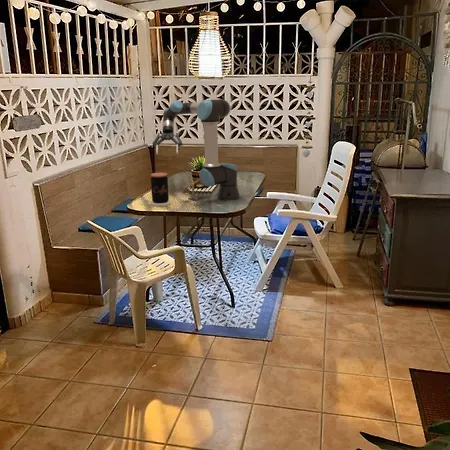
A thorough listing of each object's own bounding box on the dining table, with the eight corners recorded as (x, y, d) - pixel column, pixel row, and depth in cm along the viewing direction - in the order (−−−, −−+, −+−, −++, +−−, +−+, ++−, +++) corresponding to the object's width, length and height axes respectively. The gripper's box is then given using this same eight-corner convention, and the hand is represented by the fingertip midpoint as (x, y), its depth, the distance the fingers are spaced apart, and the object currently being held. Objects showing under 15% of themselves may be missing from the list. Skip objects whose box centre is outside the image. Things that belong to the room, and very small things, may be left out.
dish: (174, 203, 310) (174, 201, 309) (158, 207, 301) (158, 205, 301) (162, 200, 319) (162, 198, 318) (146, 204, 310) (146, 201, 310)
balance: (206, 198, 323) (205, 179, 319) (186, 202, 312) (185, 183, 308) (200, 196, 327) (199, 178, 323) (180, 201, 316) (179, 182, 312)
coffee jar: (152, 204, 304) (151, 176, 298) (151, 200, 314) (150, 173, 308) (169, 203, 306) (168, 175, 300) (168, 199, 316) (166, 172, 310)
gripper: (186, 131, 334) (186, 156, 324) (150, 132, 333) (149, 157, 323) (185, 124, 327) (185, 149, 317) (149, 125, 327) (147, 150, 317)
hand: (167, 153), depth 320 cm, fingers open, 13 cm apart
